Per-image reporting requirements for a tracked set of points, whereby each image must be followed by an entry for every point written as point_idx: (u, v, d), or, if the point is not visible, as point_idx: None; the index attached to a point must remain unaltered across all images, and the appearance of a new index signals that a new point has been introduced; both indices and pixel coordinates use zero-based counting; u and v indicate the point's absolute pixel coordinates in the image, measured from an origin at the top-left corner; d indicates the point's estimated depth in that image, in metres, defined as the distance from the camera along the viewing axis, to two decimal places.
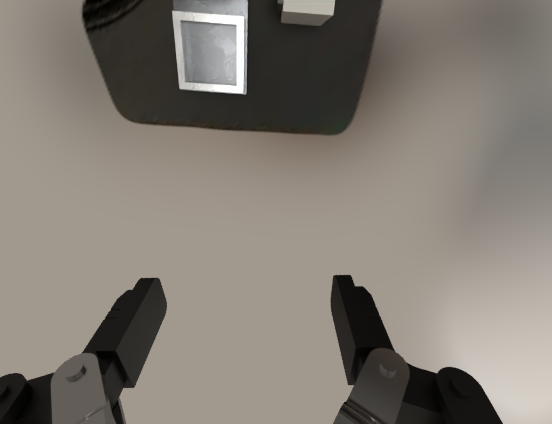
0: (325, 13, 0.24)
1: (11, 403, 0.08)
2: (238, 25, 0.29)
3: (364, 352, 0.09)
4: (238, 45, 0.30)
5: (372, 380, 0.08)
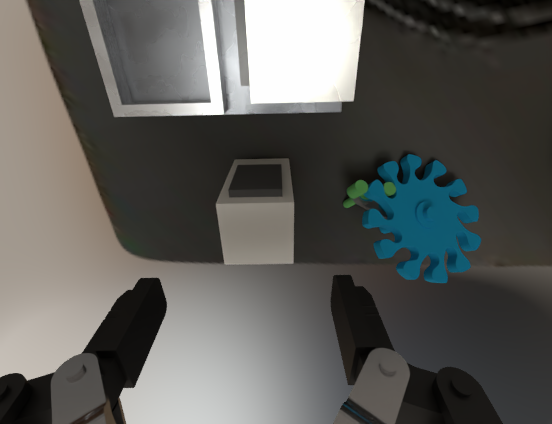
0: (224, 256, 0.17)
1: (11, 403, 0.08)
2: (210, 105, 0.18)
3: (364, 352, 0.09)
4: (183, 106, 0.18)
5: (372, 380, 0.08)
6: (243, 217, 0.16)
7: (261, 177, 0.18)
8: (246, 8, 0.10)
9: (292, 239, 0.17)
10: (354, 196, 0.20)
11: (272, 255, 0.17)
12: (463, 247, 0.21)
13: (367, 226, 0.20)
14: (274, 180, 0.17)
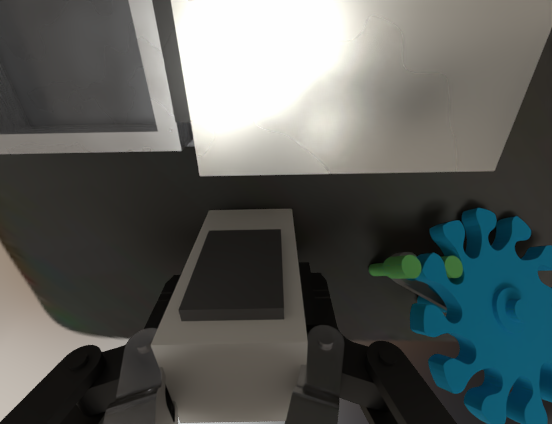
0: (179, 412, 0.10)
1: (92, 370, 0.08)
2: (157, 136, 0.10)
3: (309, 329, 0.10)
4: (109, 137, 0.10)
5: (309, 352, 0.09)
6: (209, 364, 0.08)
7: (245, 268, 0.10)
8: None
9: None
10: (396, 277, 0.13)
11: (265, 411, 0.10)
12: None
13: (420, 333, 0.12)
14: (269, 279, 0.09)
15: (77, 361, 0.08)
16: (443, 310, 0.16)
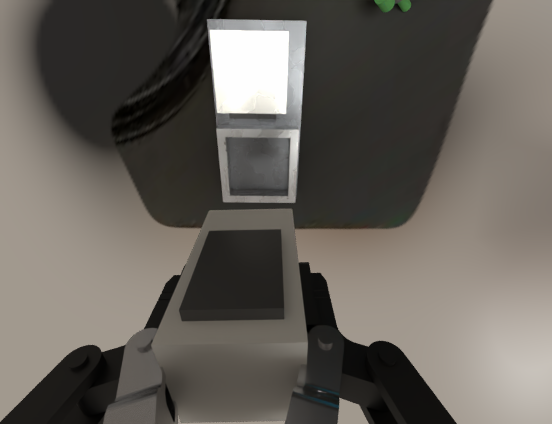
0: (179, 412, 0.10)
1: (92, 370, 0.08)
2: (292, 138, 0.25)
3: (309, 329, 0.10)
4: (291, 157, 0.26)
5: (308, 352, 0.09)
6: (209, 364, 0.08)
7: (246, 268, 0.10)
8: (234, 112, 0.18)
9: None
10: (391, 3, 0.19)
11: (265, 411, 0.10)
12: None
13: None
14: (269, 279, 0.09)
15: (78, 361, 0.08)
16: None
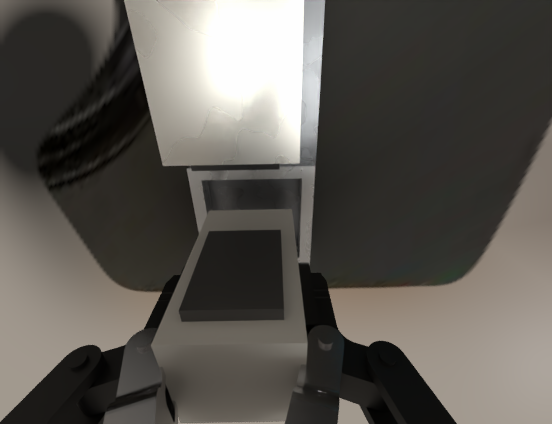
0: (179, 412, 0.10)
1: (92, 370, 0.08)
2: (305, 179, 0.16)
3: (309, 329, 0.10)
4: (304, 206, 0.17)
5: (309, 352, 0.09)
6: (208, 365, 0.08)
7: (245, 268, 0.10)
8: (196, 164, 0.09)
9: None
10: None
11: (265, 411, 0.10)
12: None
13: None
14: (269, 279, 0.09)
15: (78, 361, 0.08)
16: None
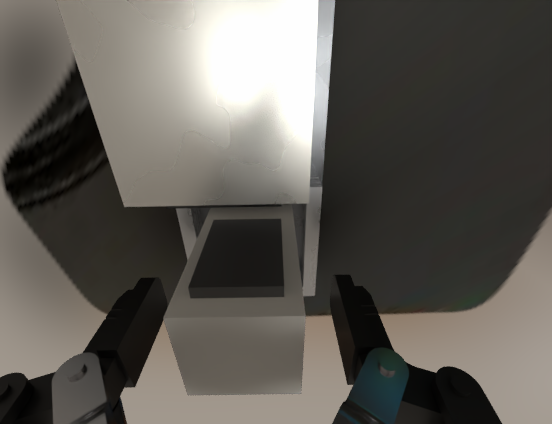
0: (187, 385, 0.10)
1: (12, 403, 0.08)
2: (310, 201, 0.14)
3: (363, 352, 0.09)
4: (308, 231, 0.15)
5: (371, 379, 0.08)
6: (215, 337, 0.09)
7: (248, 252, 0.11)
8: (169, 205, 0.07)
9: (300, 364, 0.10)
10: None
11: (266, 384, 0.10)
12: None
13: None
14: (270, 261, 0.10)
15: None
16: None
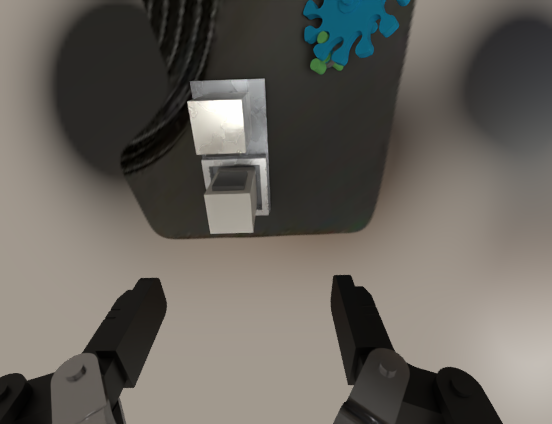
0: (210, 227, 0.28)
1: (11, 403, 0.08)
2: (261, 165, 0.32)
3: (364, 352, 0.09)
4: (262, 179, 0.33)
5: (372, 380, 0.08)
6: (220, 203, 0.27)
7: (232, 179, 0.29)
8: (208, 153, 0.25)
9: (251, 216, 0.28)
10: (323, 69, 0.27)
11: (239, 227, 0.28)
12: None
13: (344, 62, 0.25)
14: (240, 181, 0.28)
15: None
16: None
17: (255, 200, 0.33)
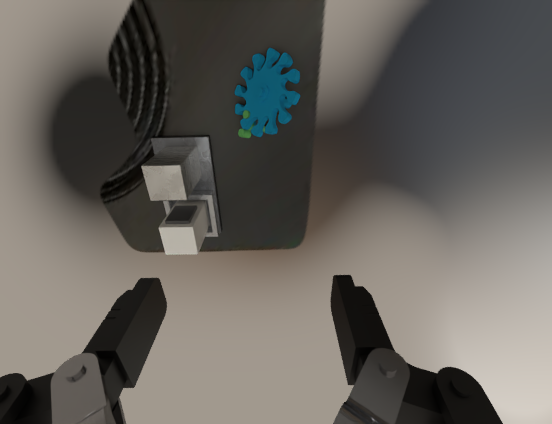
0: (165, 250, 0.38)
1: (11, 403, 0.08)
2: (208, 199, 0.41)
3: (364, 352, 0.09)
4: (210, 210, 0.42)
5: (372, 380, 0.08)
6: (171, 233, 0.36)
7: (182, 214, 0.38)
8: (159, 200, 0.34)
9: (195, 242, 0.37)
10: (248, 135, 0.36)
11: (187, 250, 0.38)
12: (288, 66, 0.31)
13: (259, 135, 0.34)
14: (187, 216, 0.37)
15: None
16: None
17: (205, 226, 0.42)
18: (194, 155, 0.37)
